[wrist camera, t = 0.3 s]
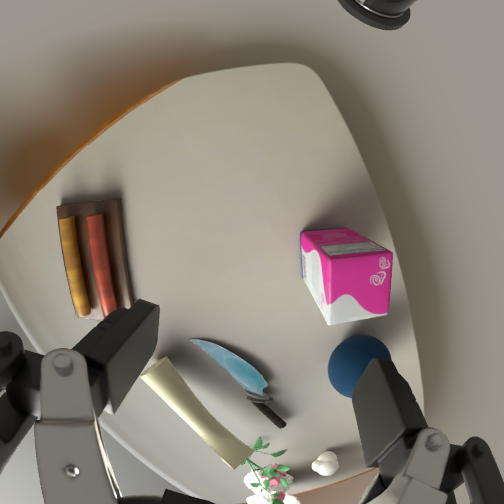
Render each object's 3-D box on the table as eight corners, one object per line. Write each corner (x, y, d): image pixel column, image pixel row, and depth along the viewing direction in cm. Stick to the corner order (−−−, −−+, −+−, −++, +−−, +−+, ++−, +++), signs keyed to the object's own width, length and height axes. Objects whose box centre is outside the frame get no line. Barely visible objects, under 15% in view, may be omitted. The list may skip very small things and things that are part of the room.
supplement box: (349, 273, 32) (389, 317, 21) (301, 278, 32) (323, 328, 21) (349, 226, 30) (395, 252, 19) (299, 229, 31) (324, 259, 20)
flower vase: (194, 330, 42) (309, 458, 42) (139, 369, 41) (259, 487, 40) (185, 348, 31) (328, 492, 30) (115, 394, 29) (268, 524, 29)
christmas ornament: (336, 380, 36) (353, 429, 27) (311, 345, 35) (327, 396, 25) (384, 351, 35) (413, 394, 26) (366, 312, 33) (398, 355, 24)
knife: (215, 321, 34) (188, 337, 35) (212, 327, 32) (184, 344, 34) (305, 413, 37) (279, 423, 39) (305, 420, 36) (278, 430, 37)
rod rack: (60, 205, 30) (46, 208, 27) (120, 198, 30) (107, 201, 27) (79, 314, 34) (69, 324, 31) (137, 320, 34) (128, 331, 31)
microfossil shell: (338, 454, 42) (343, 474, 37) (314, 462, 43) (317, 482, 38) (332, 445, 41) (337, 467, 36) (306, 454, 42) (310, 476, 37)
